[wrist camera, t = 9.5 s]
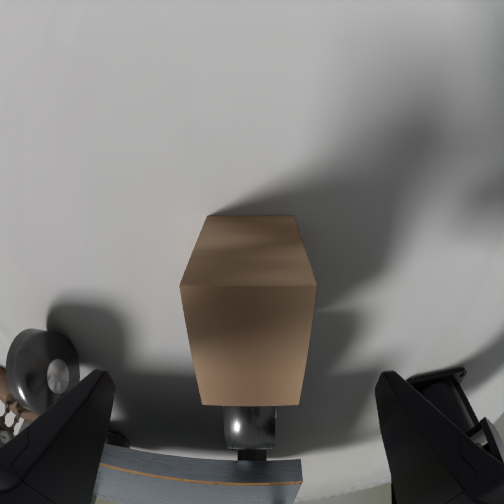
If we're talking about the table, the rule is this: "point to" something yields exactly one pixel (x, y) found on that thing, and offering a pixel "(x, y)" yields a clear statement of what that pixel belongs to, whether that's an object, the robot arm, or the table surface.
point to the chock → (249, 310)
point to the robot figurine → (3, 433)
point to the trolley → (152, 464)
